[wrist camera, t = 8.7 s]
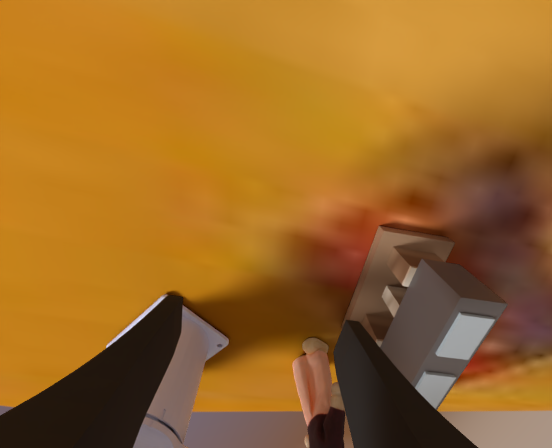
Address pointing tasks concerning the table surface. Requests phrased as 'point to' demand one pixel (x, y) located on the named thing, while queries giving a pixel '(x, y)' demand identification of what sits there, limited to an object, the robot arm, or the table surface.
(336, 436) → the grandmother figurine
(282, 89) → the table surface
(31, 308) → the table surface
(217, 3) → the table surface
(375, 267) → the stand
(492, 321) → the bar
